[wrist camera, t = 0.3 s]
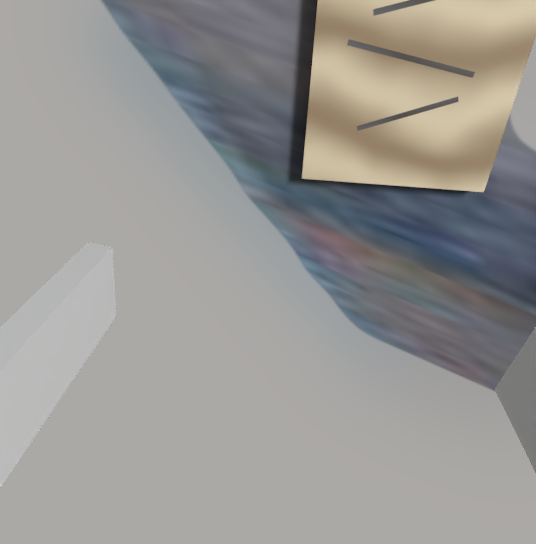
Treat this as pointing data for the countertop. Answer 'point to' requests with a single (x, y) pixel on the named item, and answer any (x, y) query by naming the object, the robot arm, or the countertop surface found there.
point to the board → (414, 89)
